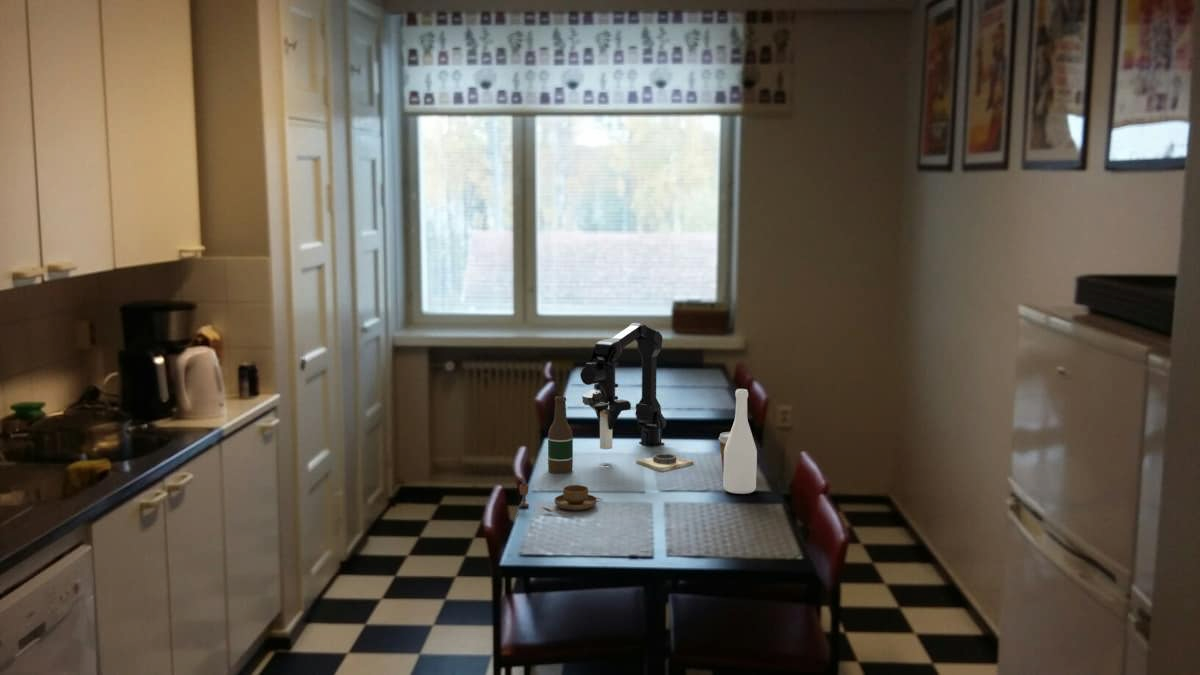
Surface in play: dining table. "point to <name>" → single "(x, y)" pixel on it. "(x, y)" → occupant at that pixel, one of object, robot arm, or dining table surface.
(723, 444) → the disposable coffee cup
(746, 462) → the wine bottle
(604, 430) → the peg
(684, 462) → the eye plate
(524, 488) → the place setting
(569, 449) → the beer bottle
